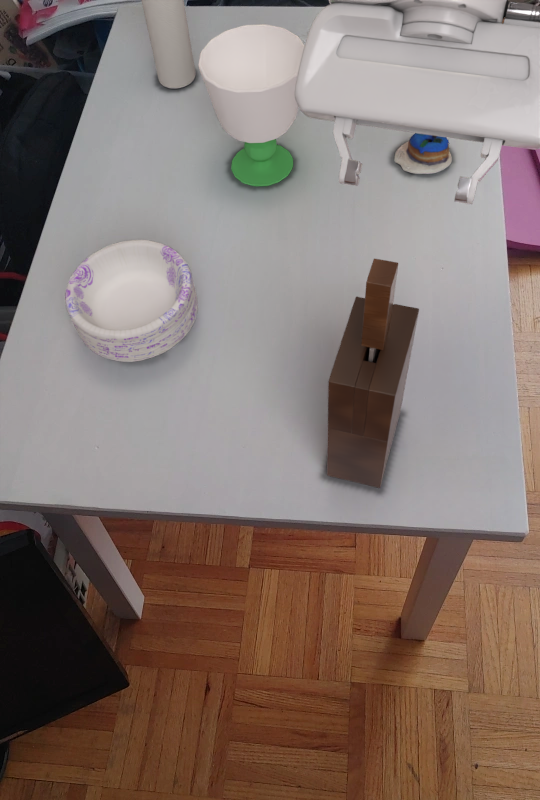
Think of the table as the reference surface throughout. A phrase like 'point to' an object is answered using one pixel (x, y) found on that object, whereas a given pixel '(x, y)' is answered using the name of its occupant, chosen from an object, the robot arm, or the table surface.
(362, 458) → the knife block
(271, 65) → the cup
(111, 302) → the paper bowls
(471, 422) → the table surface
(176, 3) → the paper towel roll
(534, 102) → the robot arm
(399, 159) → the dessert
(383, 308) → the knife
